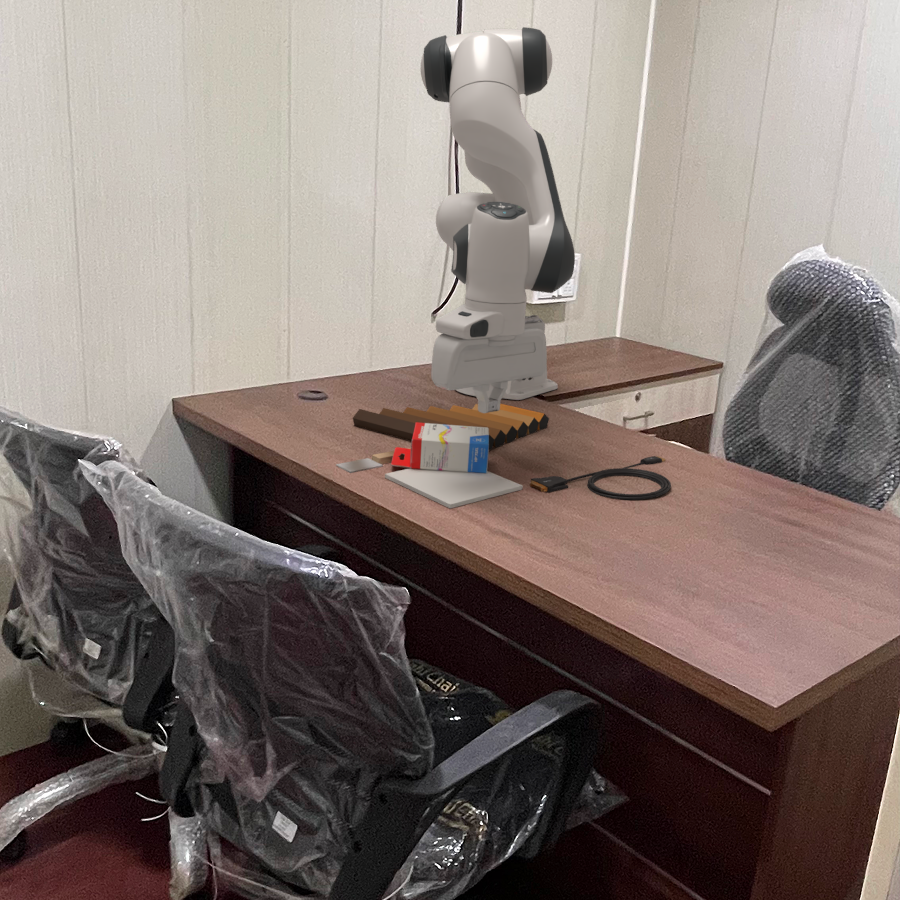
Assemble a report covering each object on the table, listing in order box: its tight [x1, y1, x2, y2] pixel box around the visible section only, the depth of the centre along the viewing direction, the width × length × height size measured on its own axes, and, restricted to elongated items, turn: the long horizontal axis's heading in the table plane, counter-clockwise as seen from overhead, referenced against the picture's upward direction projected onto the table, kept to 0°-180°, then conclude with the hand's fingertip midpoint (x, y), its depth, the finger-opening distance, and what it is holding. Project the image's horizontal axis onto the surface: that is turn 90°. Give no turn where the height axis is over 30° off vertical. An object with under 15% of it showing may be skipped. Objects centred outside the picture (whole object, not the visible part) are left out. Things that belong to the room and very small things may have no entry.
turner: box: [335, 447, 411, 474], centre depth 150 cm, size 15×4×1 cm, turn 129°
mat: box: [384, 468, 523, 509], centre depth 142 cm, size 14×15×1 cm
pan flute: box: [352, 403, 550, 451], centre depth 170 cm, size 25×3×25 cm
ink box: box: [390, 422, 490, 473], centre depth 148 cm, size 8×5×15 cm
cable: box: [529, 455, 672, 501], centre depth 145 cm, size 14×28×2 cm, turn 125°
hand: (488, 411), depth 142 cm, fingers closed
